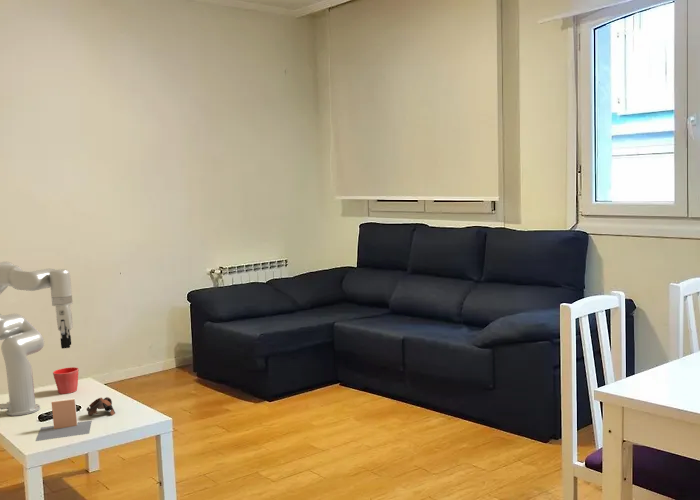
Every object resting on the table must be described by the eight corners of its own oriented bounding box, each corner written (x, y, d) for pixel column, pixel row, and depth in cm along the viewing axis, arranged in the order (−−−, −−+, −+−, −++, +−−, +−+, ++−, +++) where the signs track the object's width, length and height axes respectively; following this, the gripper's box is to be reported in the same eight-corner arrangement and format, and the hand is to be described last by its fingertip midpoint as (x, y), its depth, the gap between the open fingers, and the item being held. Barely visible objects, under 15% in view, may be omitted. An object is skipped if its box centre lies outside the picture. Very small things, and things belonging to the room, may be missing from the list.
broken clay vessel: (112, 420, 284) (99, 404, 282) (93, 431, 286) (80, 415, 284) (122, 403, 295) (110, 388, 293) (104, 413, 298) (91, 398, 295)
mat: (35, 442, 262) (35, 440, 262) (41, 429, 277) (40, 427, 277) (89, 435, 266) (89, 433, 266) (91, 422, 282) (91, 420, 282)
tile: (54, 428, 274) (51, 402, 273) (54, 426, 276) (52, 400, 276) (76, 425, 276) (74, 399, 275) (77, 423, 279) (75, 397, 278)
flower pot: (49, 395, 325) (47, 373, 324) (63, 388, 335) (61, 367, 334) (72, 395, 323) (70, 373, 322) (85, 388, 334) (83, 366, 333)
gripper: (70, 302, 283) (74, 349, 284) (74, 297, 299) (78, 341, 301) (49, 304, 281) (53, 352, 282) (54, 299, 297) (58, 343, 299)
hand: (66, 346), depth 292 cm, fingers open, 4 cm apart
